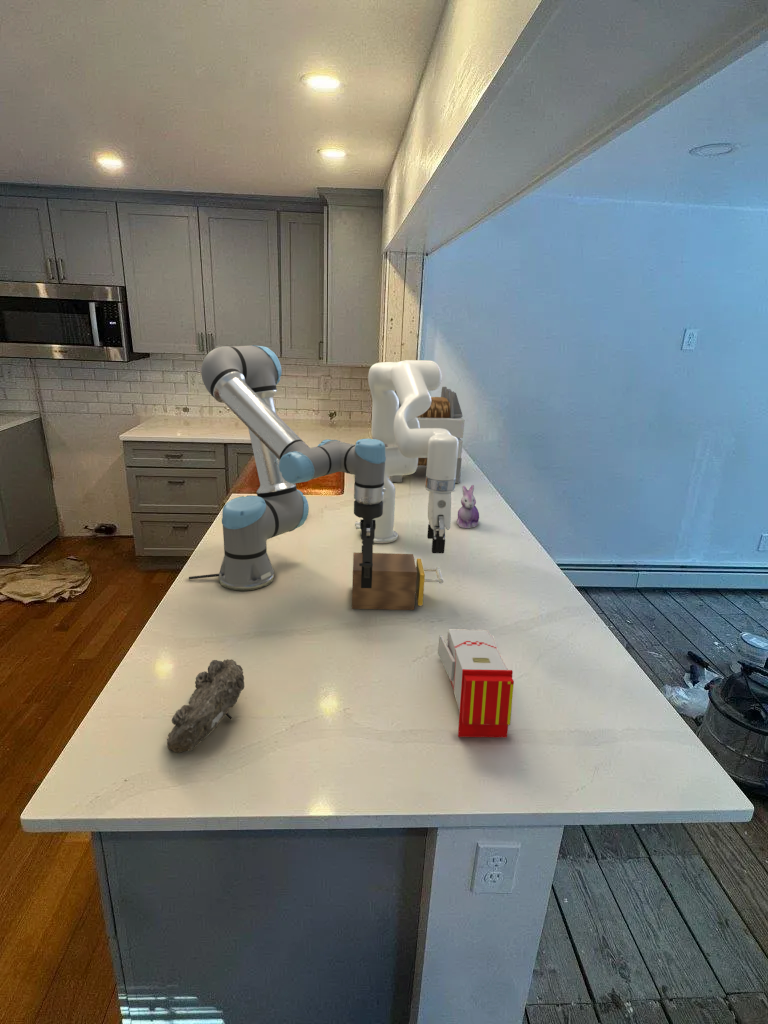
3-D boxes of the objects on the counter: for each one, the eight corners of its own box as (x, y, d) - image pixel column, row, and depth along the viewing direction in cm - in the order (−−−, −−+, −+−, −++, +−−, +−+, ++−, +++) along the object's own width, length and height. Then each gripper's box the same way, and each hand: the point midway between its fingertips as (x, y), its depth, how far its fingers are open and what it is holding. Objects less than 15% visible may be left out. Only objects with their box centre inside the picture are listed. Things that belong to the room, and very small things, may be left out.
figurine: (465, 530, 205) (468, 491, 200) (449, 521, 213) (452, 483, 208) (486, 527, 209) (490, 488, 204) (469, 518, 218) (473, 480, 213)
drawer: (437, 588, 160) (439, 559, 157) (442, 606, 150) (444, 575, 147) (365, 586, 159) (366, 557, 156) (365, 604, 149) (366, 573, 146)
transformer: (382, 463, 289) (386, 382, 275) (445, 464, 293) (451, 384, 279) (390, 482, 257) (394, 392, 243) (460, 483, 261) (468, 394, 247)
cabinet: (410, 590, 160) (413, 553, 157) (414, 610, 150) (416, 571, 146) (352, 588, 160) (353, 552, 156) (351, 608, 149) (352, 570, 145)
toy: (488, 613, 130) (523, 677, 101) (484, 667, 133) (517, 744, 104) (435, 612, 130) (455, 676, 101) (432, 666, 133) (451, 743, 103)
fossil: (192, 660, 117) (244, 628, 112) (224, 691, 120) (276, 661, 115) (142, 746, 98) (202, 712, 93) (182, 779, 101) (242, 748, 96)
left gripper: (385, 516, 134) (381, 598, 141) (381, 486, 156) (378, 558, 164) (353, 515, 133) (351, 598, 141) (354, 485, 156) (352, 558, 163)
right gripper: (460, 494, 136) (454, 559, 142) (449, 474, 152) (444, 533, 158) (429, 493, 136) (424, 558, 142) (422, 473, 152) (418, 532, 158)
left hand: (366, 577), depth 152 cm, fingers closed on cabinet, 11 cm apart
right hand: (435, 545), depth 150 cm, fingers open, 9 cm apart
